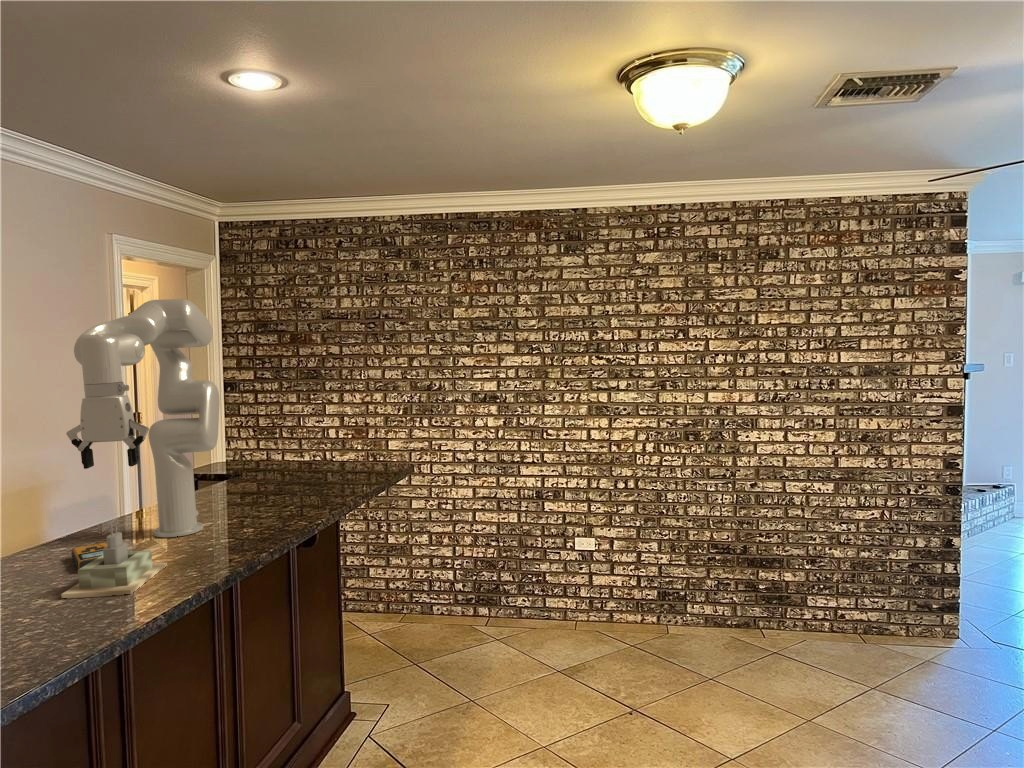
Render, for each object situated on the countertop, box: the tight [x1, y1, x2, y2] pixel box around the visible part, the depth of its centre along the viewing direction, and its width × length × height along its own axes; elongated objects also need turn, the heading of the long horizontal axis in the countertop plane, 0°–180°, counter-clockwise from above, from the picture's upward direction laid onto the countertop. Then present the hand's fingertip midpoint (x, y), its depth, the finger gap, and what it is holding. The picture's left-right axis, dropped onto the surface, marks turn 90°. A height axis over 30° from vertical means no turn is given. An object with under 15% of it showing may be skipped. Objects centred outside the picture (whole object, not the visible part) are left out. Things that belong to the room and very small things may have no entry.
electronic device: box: [71, 542, 107, 571], centre depth 172 cm, size 8×16×3 cm, turn 38°
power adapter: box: [103, 522, 129, 565], centre depth 156 cm, size 3×5×12 cm, turn 3°
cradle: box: [60, 549, 168, 599], centre depth 156 cm, size 18×14×5 cm
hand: (111, 466), depth 159 cm, fingers open, 9 cm apart
